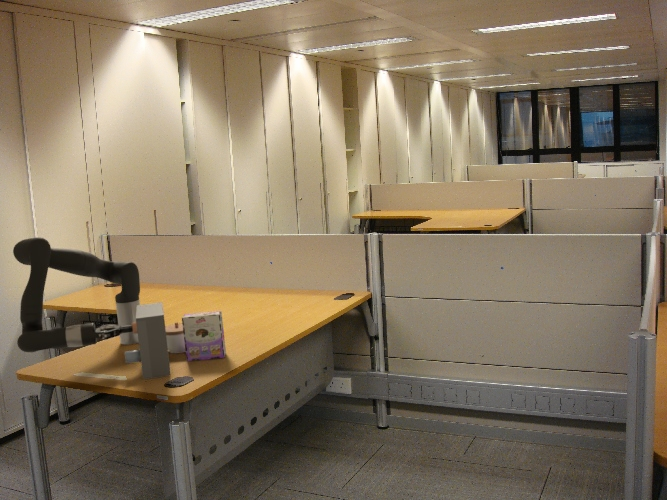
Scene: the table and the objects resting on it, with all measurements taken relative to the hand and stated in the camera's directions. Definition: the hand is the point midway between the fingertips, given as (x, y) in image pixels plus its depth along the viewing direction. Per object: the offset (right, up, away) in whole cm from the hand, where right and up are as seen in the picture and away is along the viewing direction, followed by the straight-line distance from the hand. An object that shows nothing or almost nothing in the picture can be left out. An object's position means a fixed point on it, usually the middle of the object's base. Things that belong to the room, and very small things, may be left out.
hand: (132, 328), depth 235 cm
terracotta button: (+3, -2, +1) cm, 4 cm away
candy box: (+25, -12, +6) cm, 28 cm away
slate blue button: (+4, -10, -10) cm, 15 cm away
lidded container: (+12, -11, +18) cm, 24 cm away
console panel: (+9, -14, -2) cm, 17 cm away
